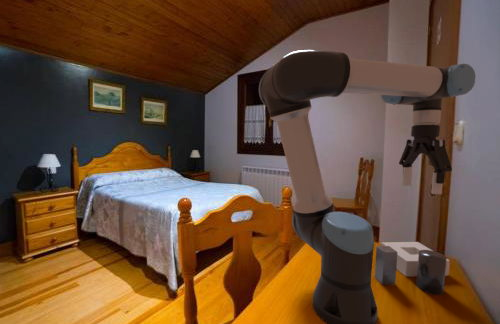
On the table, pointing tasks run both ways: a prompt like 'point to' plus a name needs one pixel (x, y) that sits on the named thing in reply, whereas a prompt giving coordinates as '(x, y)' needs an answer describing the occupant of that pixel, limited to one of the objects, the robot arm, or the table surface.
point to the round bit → (431, 272)
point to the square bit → (385, 265)
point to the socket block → (409, 256)
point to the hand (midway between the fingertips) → (420, 189)
